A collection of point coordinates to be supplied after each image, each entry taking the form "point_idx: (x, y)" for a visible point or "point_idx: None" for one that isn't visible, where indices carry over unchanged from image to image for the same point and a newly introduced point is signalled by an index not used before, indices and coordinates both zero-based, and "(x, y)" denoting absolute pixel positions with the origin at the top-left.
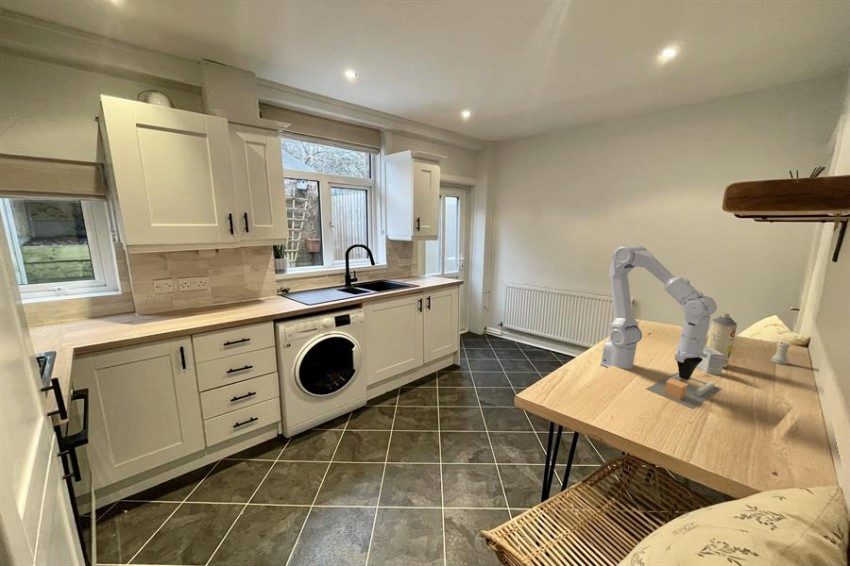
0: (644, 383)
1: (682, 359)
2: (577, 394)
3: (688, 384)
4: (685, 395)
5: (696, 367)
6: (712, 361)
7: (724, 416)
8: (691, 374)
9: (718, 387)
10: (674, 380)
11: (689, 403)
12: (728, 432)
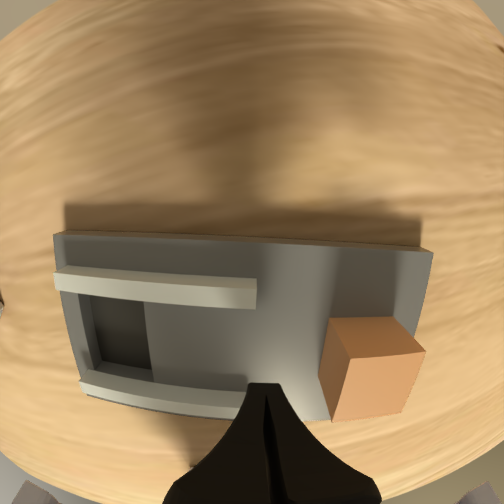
0: None
1: (495, 498)
2: (480, 429)
3: (157, 348)
4: (334, 320)
5: None
6: None
7: (324, 146)
8: (252, 403)
9: (56, 248)
10: (355, 407)
11: (392, 280)
12: (442, 122)
